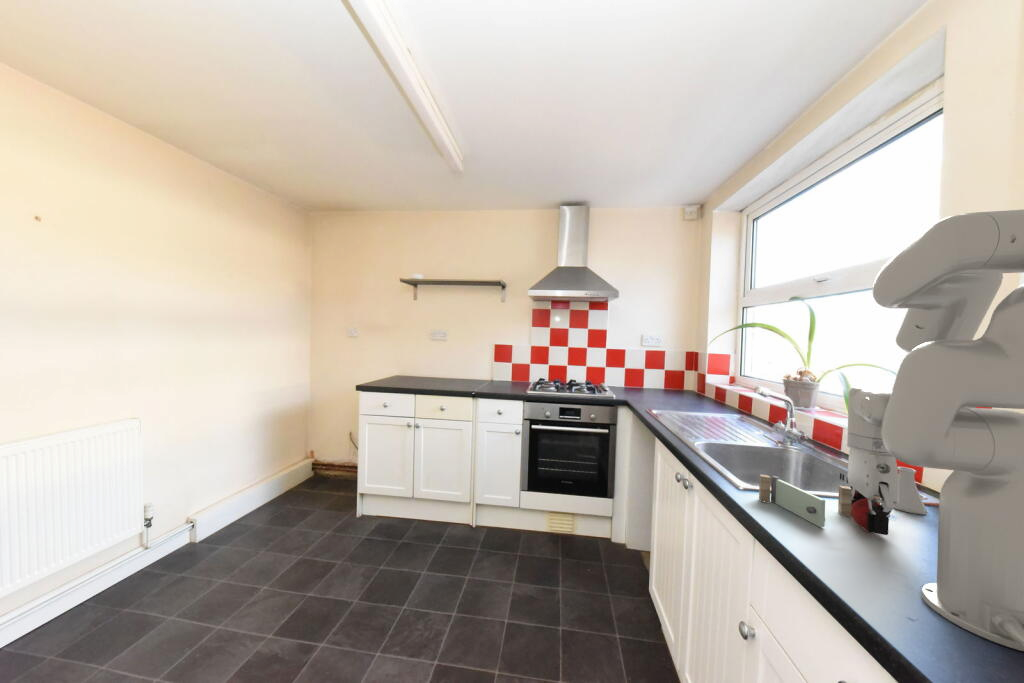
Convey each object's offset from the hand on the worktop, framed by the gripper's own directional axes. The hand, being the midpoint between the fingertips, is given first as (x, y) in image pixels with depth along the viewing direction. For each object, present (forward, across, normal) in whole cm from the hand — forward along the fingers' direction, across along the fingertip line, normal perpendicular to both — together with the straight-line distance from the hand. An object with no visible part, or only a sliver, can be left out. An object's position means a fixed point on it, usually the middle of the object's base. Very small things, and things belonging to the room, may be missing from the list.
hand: (868, 524), depth 77 cm
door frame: (+2, +8, +6) cm, 10 cm away
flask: (+2, +19, -15) cm, 24 cm away
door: (+1, +3, +12) cm, 13 cm away
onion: (+2, 0, 0) cm, 2 cm away
